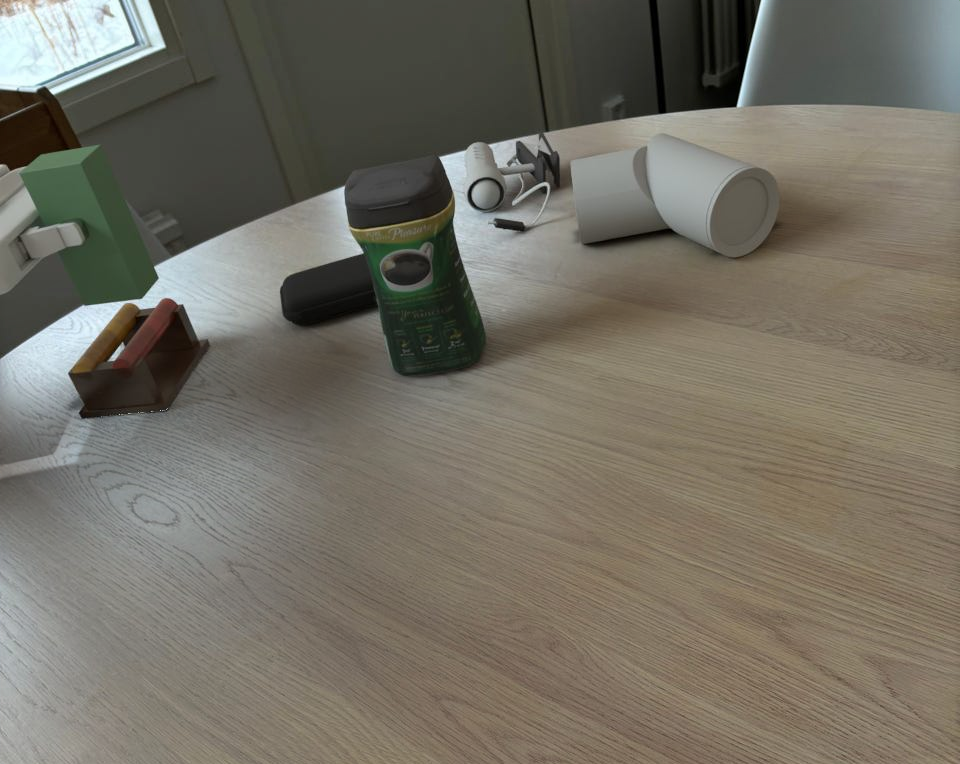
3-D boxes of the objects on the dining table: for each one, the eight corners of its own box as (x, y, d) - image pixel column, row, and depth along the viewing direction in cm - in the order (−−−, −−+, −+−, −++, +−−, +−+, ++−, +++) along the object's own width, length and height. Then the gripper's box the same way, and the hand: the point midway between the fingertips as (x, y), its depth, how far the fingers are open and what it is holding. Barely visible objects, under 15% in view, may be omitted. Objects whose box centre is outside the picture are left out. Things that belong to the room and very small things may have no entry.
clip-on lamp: (574, 245, 122) (552, 158, 132) (573, 196, 116) (550, 109, 126) (473, 260, 122) (459, 171, 132) (468, 211, 116) (453, 123, 127)
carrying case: (289, 339, 113) (420, 301, 113) (279, 313, 110) (413, 275, 111) (283, 298, 120) (406, 263, 120) (274, 273, 118) (400, 237, 118)
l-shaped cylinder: (758, 171, 116) (578, 205, 119) (759, 78, 107) (565, 117, 110) (784, 275, 106) (587, 309, 109) (788, 182, 97) (574, 222, 101)
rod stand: (81, 419, 109) (53, 367, 105) (130, 354, 118) (106, 304, 114) (166, 411, 107) (141, 357, 102) (210, 345, 116) (188, 293, 111)
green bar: (84, 306, 95) (18, 173, 87) (102, 285, 98) (40, 154, 90) (142, 299, 94) (80, 162, 85) (159, 278, 96) (101, 144, 88)
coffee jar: (490, 330, 105) (450, 138, 92) (484, 371, 99) (439, 173, 87) (398, 343, 107) (345, 158, 94) (386, 384, 101) (329, 193, 89)
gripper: (-122, 255, 85) (22, 234, 82) (0, 158, 99) (128, 136, 96) (-79, 326, 90) (60, 308, 86) (33, 223, 104) (156, 204, 100)
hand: (97, 217), depth 91 cm, fingers closed on green bar, 4 cm apart
